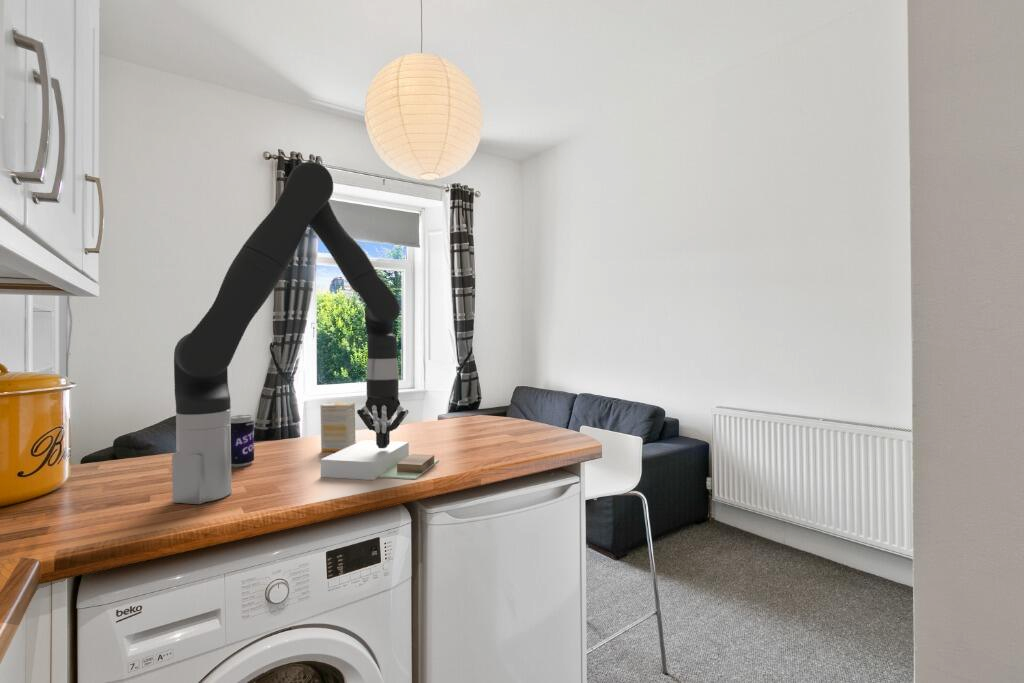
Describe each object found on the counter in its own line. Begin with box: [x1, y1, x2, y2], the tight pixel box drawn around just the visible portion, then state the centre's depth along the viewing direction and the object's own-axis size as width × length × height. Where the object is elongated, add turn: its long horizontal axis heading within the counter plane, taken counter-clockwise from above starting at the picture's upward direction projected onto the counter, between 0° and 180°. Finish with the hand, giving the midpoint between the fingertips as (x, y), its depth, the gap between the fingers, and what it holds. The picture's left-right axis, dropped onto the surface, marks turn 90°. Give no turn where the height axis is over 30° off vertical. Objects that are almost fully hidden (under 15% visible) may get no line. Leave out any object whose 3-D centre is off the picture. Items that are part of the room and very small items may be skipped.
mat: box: [378, 458, 440, 480], centre depth 117 cm, size 16×9×1 cm, turn 170°
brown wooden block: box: [397, 453, 435, 474], centre depth 116 cm, size 9×6×2 cm, turn 170°
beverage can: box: [231, 414, 255, 468], centre depth 120 cm, size 6×6×12 cm
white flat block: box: [320, 439, 410, 481], centre depth 118 cm, size 20×13×4 cm, turn 170°
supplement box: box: [320, 402, 357, 452], centre depth 135 cm, size 8×5×13 cm, turn 84°
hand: (383, 447), depth 118 cm, fingers closed
